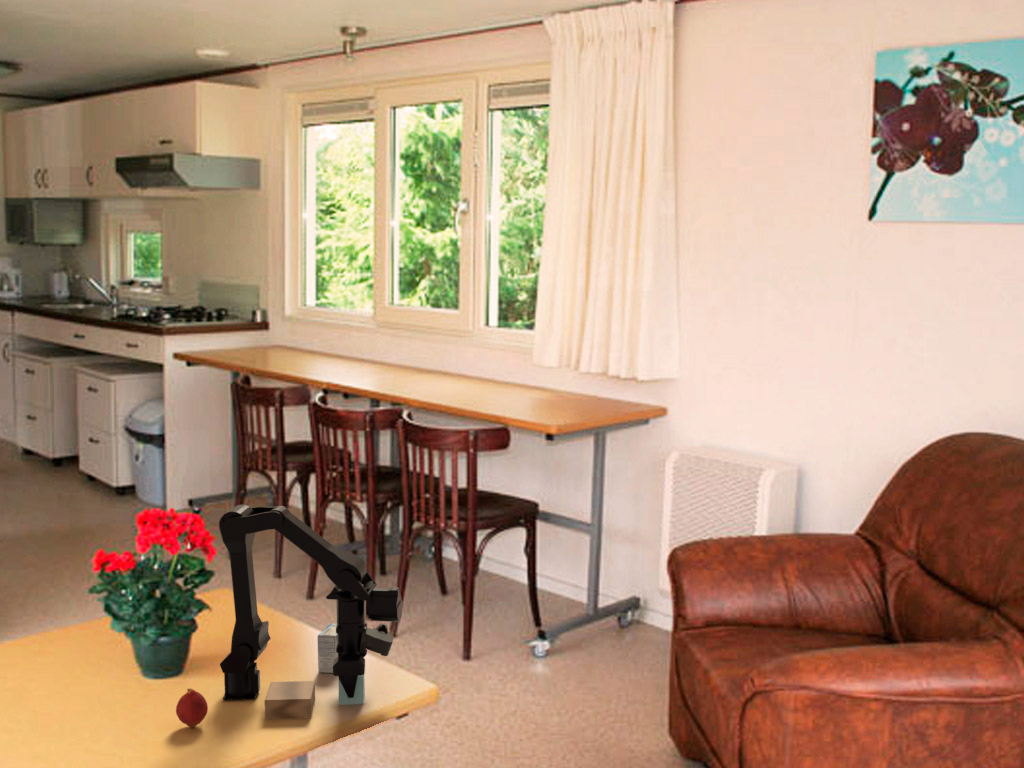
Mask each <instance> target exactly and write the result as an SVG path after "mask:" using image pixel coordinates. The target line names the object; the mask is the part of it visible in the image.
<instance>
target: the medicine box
mask: <svg viewBox="0 0 1024 768" xmlns="http://www.w3.org/2000/svg"><path fill="white" fill-rule="evenodd" d="M336 626H337V623H334V622H333V623H330V624H329V625H327V627H326V628H323V630H322V631H321V632H319V634H318V635H317V663H318V664H317V666H318V667H317V668H318V673H322V674H323V673H324V674H333V663H334V660H335V659H336V658H337V657H338V653H336V647H337V633H336Z"/></svg>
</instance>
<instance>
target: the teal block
mask: <svg viewBox="0 0 1024 768" xmlns="http://www.w3.org/2000/svg"><path fill="white" fill-rule="evenodd" d="M337 678H338V677H337ZM337 680H338V706H346V705H347V706H348V705H349V706H350V705H364V703H365V702H364V701H365V695H366V694H365V693H366V692H365V690H366V689H365V688H366V687H365V685H366V684H365V682H366V681H365V680H366V679H365V674H364V675H362V676H358V677H357V682H356V688H355V693H354V697H353V698H348V696H347V694H346V692H345V690H344V688H343V686H342V684H341V682H340V680H339V678H338V679H337Z"/></svg>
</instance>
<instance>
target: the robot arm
mask: <svg viewBox="0 0 1024 768" xmlns="http://www.w3.org/2000/svg"><path fill="white" fill-rule="evenodd" d="M218 529H219V532H220V535H221V539H222V542H223V545H224V547H225V548H226V550H227V552H228V553H229V560H230V562H229V564H230V574H231V584H232V593H233V594H232V596H233V603H234V605H233V606H234V614H235V615H234V616H235V622H234V627H233V630H232V635H231V643H230V644H231V645H230V652H229V653H228V654H227V655H226V656H225V657H224V658H223V660H222V661H221V662H220V663H219V666H220V669H221V671H222V673H223V677H224V679H223V680H224V694H223V696H222V700H223V701H247V700H248V701H249V700H250V701H253V700H255V699H256V698H257V695H258V694H259V692H260V691H261V690H260V689H261V670H260V669H258V663H257V662H256V661H257V660H258V658H259V657H261V654H262V653H263V652H264V651H265V649H266V648H267V647H268V645H269V644H268V642H269V641H270V640H271V639H272V637H271V636H270V633H269V620H266V621H262V620H261V618H260V616H259V613H258V611H259V610H258V605H257V604H258V602H257V592H256V591H257V590H256V580H255V579H256V578H255V570H254V558H253V546H254V539H255V537H256V533H259V532H263V531H267V530H270V531H271V530H275V531H276V532H277V533H278V534H280V535H282V536H283V537H284V538H285V539H286V540H288V541H289V542H290V543H292V544H293V545H294V546H295V547H296V548H298V549H300V551H302V552H303V553H304V554H306V555H307V556H308V557H310V558H311V559H312V560H314V561H315V562H316V563H317V564H319V566H320V567H321V568H322V570H323V572H324V574H325V575H326V577H327V578H328V579H329V580H330V581H331V582H332V583H333V585H334V587H332V590H330V591H329V592H328V593H327V595H326V596H325V599H326V600H335V601H336V624H337V626H336V633H337V647H336V653H338V657H337V658H336V659H335V660H334V663H333V673H332V676H334V677H337V678H339V680H340V682H341V684H342V686H343V688H344V690H345V692H346V694H347V696H348V698H353V697H354V693H355V688H356V682H357V677H358V676H362V675H364V676H365V674H366V673H365V672H366V659H365V657H366V656H367V654H368V651H371V652H373V653H377V654H378V655H381V656H383V657H387V656H389V654H390V650H391V648H392V645H393V641H394V635H392V633H391V632H389V628H388V625H387V624H385V623H383V622H394V623H395V622H396V623H398V622H399V623H400V621H401V618H402V615H403V599H402V595H401V592H400V591H401V590H400V587H395V586H394V587H377V585H378V584H377V582H376V581H375V580H374V579H373V576H371V574H370V573H369V572H368V569H367V564H366V562H365V561H364V559H363V558H361V557H359V556H357V555H355V554H354V553H352V552H350V551H348V550H346V549H342V548H340V547H339V548H338V547H336V546H335V545H333V544H332V543H330V542H329V541H327V540H326V539H325V538H324V537H323V536H321V535H320V534H319V533H318V532H316V531H315V530H314V529H313V528H311V527H310V526H308V525H307V524H306V523H304V521H302V520H301V519H299V517H297V516H295V514H293V513H292V512H291V511H290V510H289V508H287V507H286V506H284V505H277V506H253V507H251V506H249V505H247V504H237V505H235V506H234V507H232V508H231V509H229V510H228V511H227V512H226V513H224V514H223V515H222V516H221V518H219V521H218ZM365 616H367V618H368V619H371V621H372V622H382V623H379V625H377V626H376V627H372V628H370V627H368V621H366V617H365Z"/></svg>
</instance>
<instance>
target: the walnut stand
mask: <svg viewBox="0 0 1024 768" xmlns="http://www.w3.org/2000/svg"><path fill="white" fill-rule="evenodd" d="M315 702H316V681H315V680H297V681H296V680H294V681H290V680H289V681H270V682H269V685H268V688H267V691H266V695H265V697H264V719H265V720H287V719H289V720H291V719H293V720H294V719H297V720H298V719H312V715H313V710H314V707H315Z"/></svg>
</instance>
